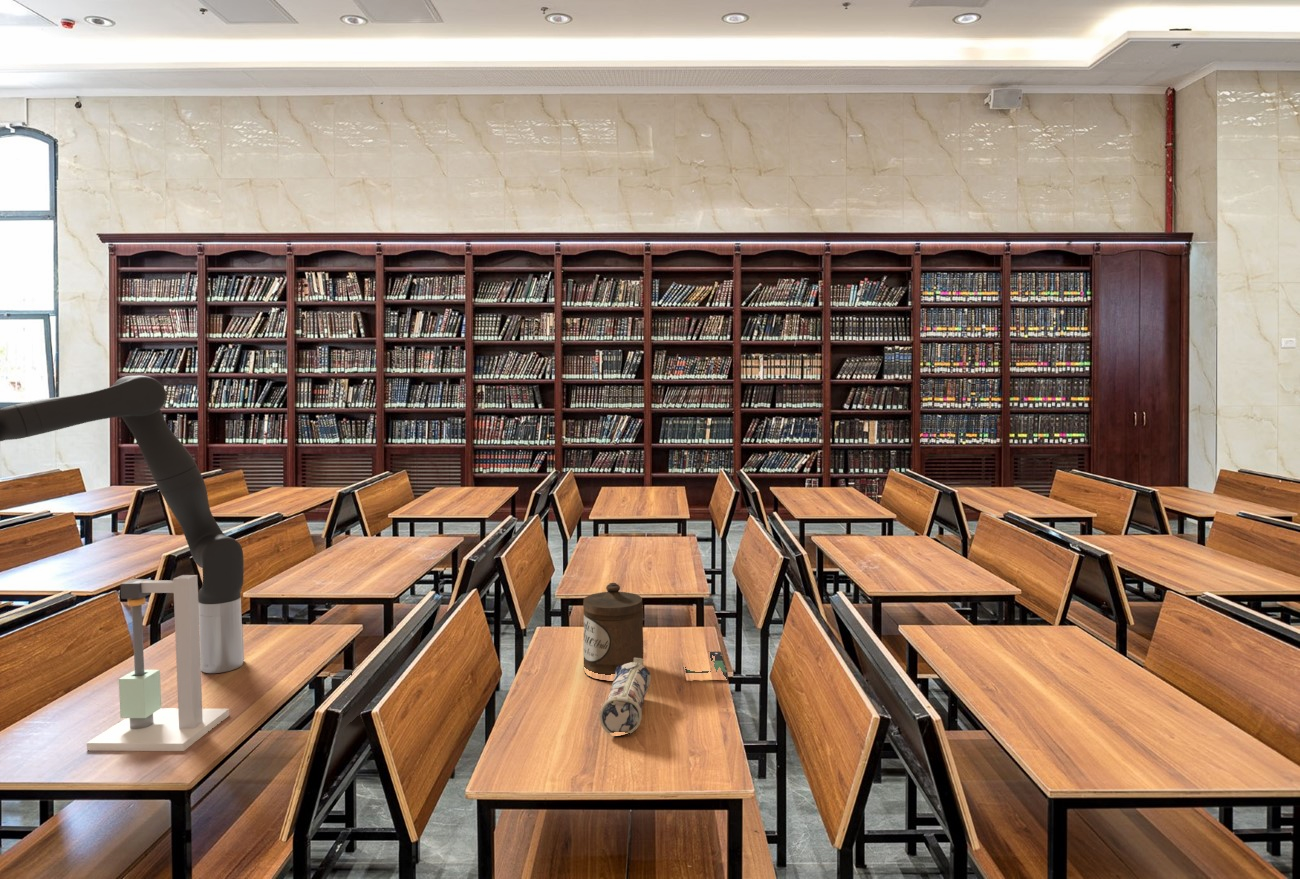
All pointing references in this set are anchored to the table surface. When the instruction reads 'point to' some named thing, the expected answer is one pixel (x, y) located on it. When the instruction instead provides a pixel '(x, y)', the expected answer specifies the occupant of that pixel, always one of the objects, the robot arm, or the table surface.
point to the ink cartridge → (340, 678)
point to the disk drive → (718, 663)
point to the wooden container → (612, 629)
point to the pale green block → (140, 694)
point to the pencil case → (625, 698)
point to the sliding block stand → (189, 719)
